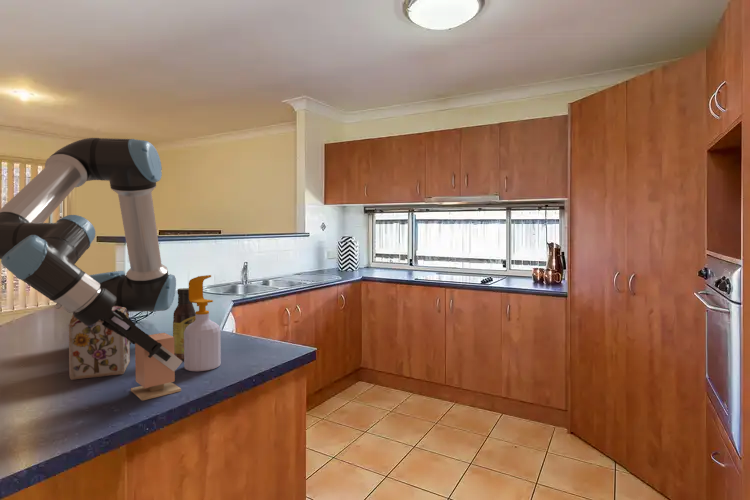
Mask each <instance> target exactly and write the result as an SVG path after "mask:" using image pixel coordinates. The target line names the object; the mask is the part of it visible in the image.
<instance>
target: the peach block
mask: <svg viewBox="0 0 750 500" xmlns="http://www.w3.org/2000/svg"><path fill="white" fill-rule="evenodd" d="M148 335H149V336H150V337H151V338H153V339H154V340H155V341H157V342H158V343H161V345H162V346H163V347H164V348H166V349H167V350H168V351H170V352H171V353H172V354H174V337H173V335H170V334H168V333H166V332H161V333H154V334H148ZM134 348H135V349H134V353H135V354H134V355H135V360H134V361H135V382H136V383H137V384H138V385H139V386H143V387H144V388H148V387H152V386H157V385H161V384H165V383H169V382H172V383H174V382H175V380H176V379H175V378H176V375H175V374H176V373H175V372H176V370H175V371H172V370H171V369H169V368H168V367H167V366H165V365H164V364H163V363H161V362H160V361H158V360H157V359H156V358H154V357H153V356H152V357H151V358H149V357H148V356H149V352H148V351H146V350H145V349H143V348H142V347H141V346H139V345H138V344H136V343H135V344H134Z"/></svg>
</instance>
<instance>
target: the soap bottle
mask: <svg viewBox="0 0 750 500" xmlns="http://www.w3.org/2000/svg"><path fill="white" fill-rule="evenodd" d="M209 278H212V274H207V275H198V276H196V277H193V278H191V279H190V280H188V288H189V301H190V302H192V304H196V307H198V310H195V313H196V320H195V321H194V322H193V323H191V324H189V325H188V326H187V327H186V329H185V331H184V359H183V361H184V362H183V364H184V365H183V366H184V367H183V368H184V370H186V371H190V372H195V373H196V372H207V371H211V370H215V369H217V368H219V367H220V366H221V362H222V360H221V359H222V348H221V345H222V342H221V341H222V340H221V339H222V338H221V328H220V325H219V324H218V323H216V322H215V321H213V320H211V319H210V311H209V310H208V309H206V307H208V306H209V305H208V304H209V303H213V302H214V300H213V299H206V298H204V281H205V280H207V279H209Z"/></svg>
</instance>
